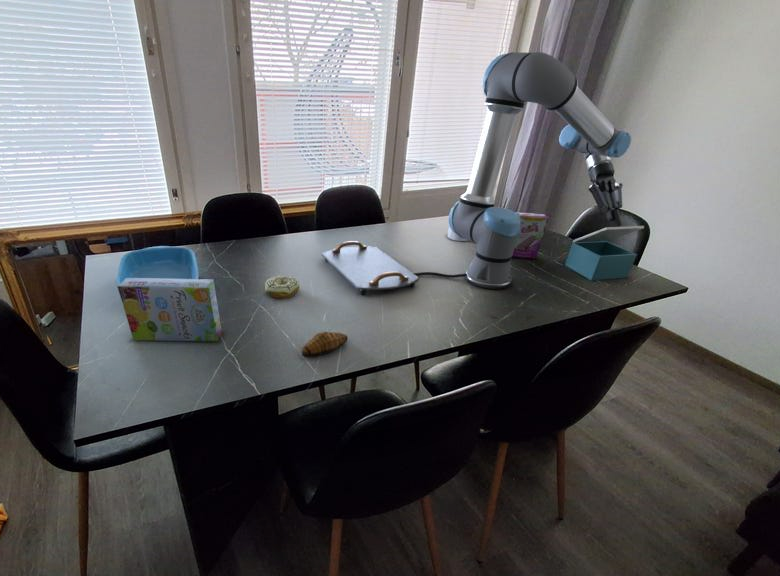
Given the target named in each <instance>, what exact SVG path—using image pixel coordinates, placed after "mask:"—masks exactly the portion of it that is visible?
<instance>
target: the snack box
mask: <svg viewBox="0 0 780 576" xmlns="http://www.w3.org/2000/svg"><path fill="white" fill-rule="evenodd" d="M117 290H118V293H119V296H120V299H121V304H122V307H123V310H124V313H125V317H126V321H127V323H128V326H129V330H130V333H131V337H132V340H133V341H156V342H157V341H158V342H159V341H162V342H163V341H164V342H165V341H166V342H218V341H219V338H220V336H221V335H222V333H223V332H222V324H221V318H220V313H219V305H218V300H217V293H216V287H215V280H214V279H212V278H211V279H209V278H208V279H207V278H206V279H205V278H198V279H159V278H125V280H124V281H123V282H122V283H121V284H120V285H119V286H118V287H117Z"/></svg>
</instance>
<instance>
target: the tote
mask: <svg viewBox="0 0 780 576" xmlns="http://www.w3.org/2000/svg"><path fill="white" fill-rule="evenodd" d="M637 256H638V254H637V253H634V252H632V251H630V250H628V249H626V248H623V247H621V246H619V245H617V244H615V243H612V242H610V241H594V242H574V243H573V242H572V243H571V246H570V249H569V252H568V254H567V257H566V260H565V263H564V266H565V267H567V268H569V269H571V270H572V271H574V272H576V273H577V274H579V275H581V276H583V277H585V278H586V279H588V280H589V281H599V280H614V279H626V278H628V276H629V274H630V271H631V269H632V267H633V266H634V262H635V260H636V258H637Z"/></svg>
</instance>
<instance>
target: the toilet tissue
mask: <svg viewBox="0 0 780 576" xmlns="http://www.w3.org/2000/svg"><path fill="white" fill-rule="evenodd" d="M447 238H448V239H450V240H453V241H455V242H469V240H467V239H465V238H462V237H460V236H458V235H457V234H456V233H454V232H453V231H452V229H451V228H450V225H448V229H447Z"/></svg>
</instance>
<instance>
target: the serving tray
mask: <svg viewBox="0 0 780 576" xmlns="http://www.w3.org/2000/svg"><path fill="white" fill-rule="evenodd" d="M346 246H347V247H346ZM321 257H323V259H324V260H325V262H328V263H329V264H330V265H331V266H332V267H333V268H334V269H336V271H337V272H339V273H340V274H341V275H342V276H343V277H344V278H345V279H346V280H347V281H348V282H349V283H350V284H351V285H353V286H354V288H356V289H357V290H359V293H360V295H361V296H366V295H367V293H368V291H383V290H393V289H399V288H403V287H407V286H409V288H414V287H415V286H416V283H417V282H418V281H420V278H419V277H418V276H416V275H414V274H413V273H414V272H411V271H410V270H409V269H408V268H406V267H405V266H403V265H402V264H400V262H398V261H397V260H395V258H392V257H391V256H390V255H388V254H387V253H385V252H384V251H382V250H381V249H379V248H378V247H376V246H373V245H372V246H371V245H370V246H369V245H368V246H367V245H363V244H362V243H361V242H359V241H355V240H349V241H343V242H341V243H339V244H338V245H337V246H336V247H335V248H333V249H330V250H327V251H323V252H322V253H321Z"/></svg>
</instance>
